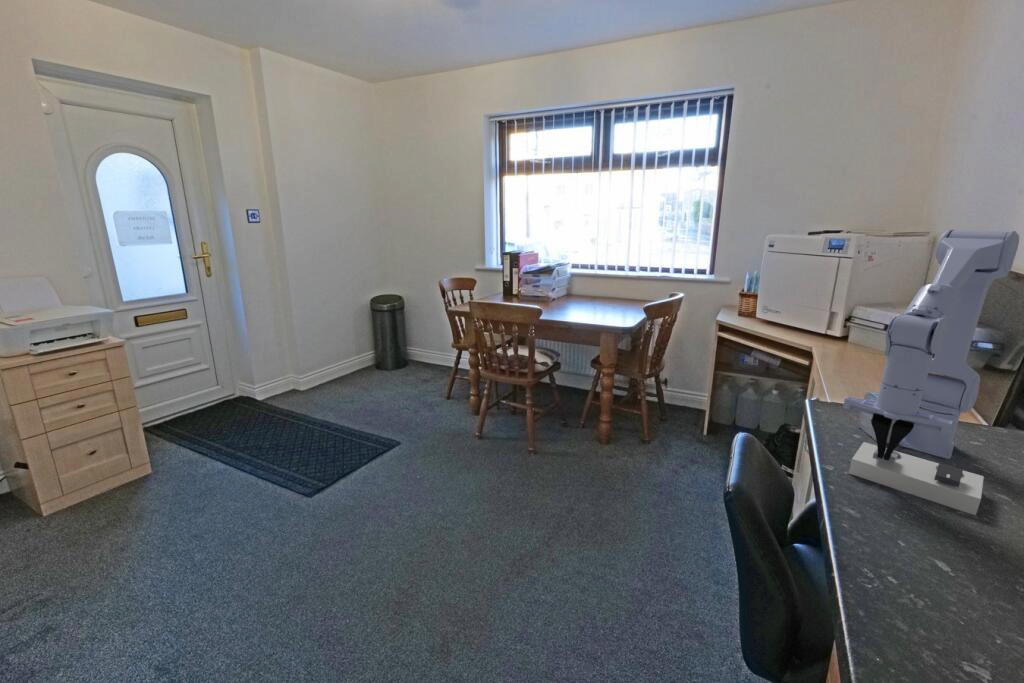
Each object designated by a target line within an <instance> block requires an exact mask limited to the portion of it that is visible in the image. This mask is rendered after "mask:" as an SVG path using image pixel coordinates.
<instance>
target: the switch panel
mask: <svg viewBox="0 0 1024 683" xmlns="http://www.w3.org/2000/svg"><path fill="white" fill-rule="evenodd" d="M877 448H878V447H877V444H876V445H875V444H873V443H869V442H865V441H863V443H862V444H861V446H860V447H859V448H858V449H857V451H856V452H855V454H854V455H853V457H852V458H851V462H850V464H849V465H850V466H849V470H848V474H849V475H852V476H855V477H858V478H861V479H865V480H867V481H871V482H872V483H873V482H874V483H877V484H879V485H883V486H884V487H885V486H886V487H889V488H891V489H895V490H898V491H900V492H903V493H906V494H910V495H912V496H915V497H919V498H922V499H924V500H927V501H931V502H934V503H937V504H939V505H943V506H946V507H949V508H951V509H955V510H957V511H961V512H963V513H967V514H971V515H973V516H976V515H977V513H978V510H979V508H980V507H979V506H980V504H981V500H982V494H983V487H984V476H983V475H980V474H977V473H973V472H969V471H966V470H963V472H962V476H961V480H960V484H959V487H956V486H953V485H950V484H947V483H943V482H940V481H937V480H934V479H935V475H936V472H937V469H938V465H939V463H940V462H935V461H931V460H928V459H925V458H921V457H919V456H918V457H917V456H914V455H910V454H908V453H903V452H899V451H897V450H895V449H894V450H893V452H892V453H896V454H898V456H897V460H896V461H895V463H894V464H891V463H888V462H884V461H881V460H878V459H874V458H873V454H874V452H875V451H876V450H877ZM886 450H887V447H886ZM886 450H885V451H886Z"/></svg>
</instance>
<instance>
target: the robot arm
mask: <svg viewBox="0 0 1024 683" xmlns="http://www.w3.org/2000/svg"><path fill="white" fill-rule="evenodd" d="M1019 243H1020V235H1019V233H1017V231H1015V230H1009V231H1003V230H1002V231H1001V230H1000V231H997V230H995V231H994V230H992V231H989V230H958V229H957V230H954V229H947V230H946V231H945V232H943V233H942V234H941V235H940V237H939V240H938V243H937V245H936V250H935V257H936V259H937V263H938V264H939V265H940V266H939V269H938V270H937V272H936V275H935V277H934V279H933V281H932V283H930V284H926V285H923V286H921V288H919V290H918V291H917V293H916V294H915V296H914V297H913V299H912V300H911V302H910V303H909V305H908V307H907V308H906V309H905V311H904V312H903V313H902V314H900V315H899V316H898V315H896V316H894V317H892V319H891V321H890V322H889V324H888V327H887V330H886V334H885V350H884V356H885V357H886V359H885V364H884V369H883V373H882V376H881V379H880V384H879V385H880V386H879V389H878V392H877V393H878V396H877V400H876V401H872V400H865V399H864V398H859V397H853V396H848V395H847V396H846V397H844V401H843V406H842V408H843V409H844V410H854V411H857V412H860V413H861V412H864V413H868V414H872V415H873V417H872V419H871V423H872V427H873V429H874V432H875V436H876V440H877V442H876V446H877V447H878V455H877V457H878V458H881V459H882V458H883V455H884V454H885V455H884V460H887V461H889V459H890V457H891V454H892V452H893V450H894V451H895V449H896V448H897V447H898V445H899V446H900V447H904V448H907V449H910V450H915V451H918V452H920V453H921V452H922V453H925V454H929V455H932V456H936V457H939V458H943V459H947V460H950V459H951V458H952V455H953V450H954V447H955V442H953V441H954V437H955V435H956V434H955V433H956V431H957V426H958V424H959V420H960V417H961V414H966V413H968V412H970V411H972V409H973V407H974V406H975V404H976V401H977V398H978V396H979V390H980V383H981V376H980V374H979V373H978V372H977V371H976V370H974V369H973V368H972V367H971V365H969V364H968V363H967V362H966V361H967V359H968V355H969V352H970V349H971V346H972V342H973V339H974V336H975V333H976V329H977V326H978V323H979V321H980V320H979V319H980V317H981V313H982V310H983V307H984V304H985V303H984V302H985V301H986V297H987V294H988V291H989V288H990V287H991V286H992V283H994V281H995V280H998V279H1003V278H1007V277H1008V276H1009V273H1010V272H1011V270H1012V267H1013V264H1014V261H1015V258H1016V254H1017V251H1018V247H1019ZM892 420H896V421H895V423H894V424H893V426H892V431H891V436H890V441H889V443H887V437H888V434H889V430H890V427H891V423H892ZM886 448H887V450H886ZM885 450H886V452H885Z"/></svg>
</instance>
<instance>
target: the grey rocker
mask: <svg viewBox="0 0 1024 683" xmlns="http://www.w3.org/2000/svg"><path fill="white" fill-rule="evenodd" d="M885 452H886V451H885ZM877 455H878V448H877V450H876V451H875V452H874V454H873V458H874V459H878V460H881V461H884V462H888V463H891V464H894V463H895V461H896V460H897V456H898V454H896V453H892V454H891V457H890V459H889V461H887V460H884V455H885V454H884V455H883V458H882V459H881V458H878V457H877Z"/></svg>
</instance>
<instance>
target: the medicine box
mask: <svg viewBox="0 0 1024 683" xmlns="http://www.w3.org/2000/svg"><path fill="white" fill-rule="evenodd" d="M877 396H878V392H865V393H864V396H863V397H864V398H863V399H865V400H872V401H876V400H877ZM872 417H873V415H872V414H868V413H864V412H861V411H860V415H859V419H858V423H857V424H858V425H857V427H858V426H859V427H860V428H861V429H860V428H859V427H858V428H859V429H860V430H861V431H863V432H864V433H865V434H866V435H868V436H869V437H870V436H871V437H872V438H871V437H870V438H871V439H872V440H874V441H875V442H876V443H877V440H876V436H875V432H874V429H873V427H872V423H871V419H872ZM895 421H896V420H892V423H891V427H890V430H889V434H888V437H887V444H889V441H890V436H891V431H892V426H893V424H894V423H895Z"/></svg>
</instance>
